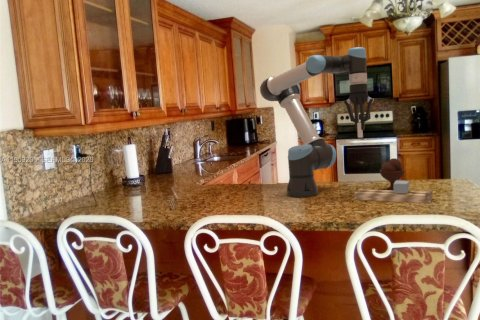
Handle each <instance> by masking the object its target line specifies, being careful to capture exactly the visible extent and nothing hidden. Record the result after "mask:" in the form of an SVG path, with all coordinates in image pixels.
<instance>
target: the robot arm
mask: <svg viewBox="0 0 480 320" xmlns="http://www.w3.org/2000/svg"><path fill="white" fill-rule="evenodd" d="M341 73H348V78H349V81H348V82H349V84H350V85H349V96H348V99H346V100H344V101H343V103H344V104H345V106H346V109H347V112H348V117H349V120H350V122H352V123H354V127H355V129H354V130H355V131H357V138H359V139H360V138H364V133H363V131H364V130H365V127H366V125H365V123H366V122H368V121H369V120H370V116H371V111H372V105H373V103H374V101H375V98H372V97H370V96H369V93H368V84H367V83H368V73H367V50H366V48H365V47H363V46H359V47H351V48H348V50H347V53H346V54H343V55H325V54H324V55H323V54H322V55H321V54H315V55H311V56H308V58H307V59H306V61H305V62H303V63H302V64H299V65H297V66H295V67H293V68H291V69H289V70H287V71H285V72H283V73H280V74H279V75H277V76H270V77H268V78H266V79H264V80H263V81H262V82H261V85H260V86H259V92H260V95H261V97H262V98H263V99H264V100H266V101H268V102H278V104H279V106H280V107H281V108H283V109H285V111H286V113H287V115H288V117H289V119H290V121H291V123H292V124H293V127H294V128H295V130H296V132H297V133H298V136H299V138H300V140H301V141H302V143H303V144H299V145H294V146H291V147H290V148H289V149H288V150H287V151H288V152H287V154H288V155H287V160H288V177H289V180H288V184H287V187H286V196H288V197H291V198H309V197H314V196H316V195H317V196H318V195H319V188H318V186H317V182H316V179H315V176H314V174H315V173H314V171H317V170H323V169H328V168H330V167H333V166H334V164H335V162H336V160H337V150H336V148H335V147H334V145H333V144H329V143H327V142H326V140H325V139H324V137H320V135H319V133H318V132H317V130H316V128H315V126H314V124H313V123H312V121H311V119H310V117H309V115H308V113H307V112H306V110H305V107H303V104H302V103H301V101H300V100H301V94H302V93H301V86H300V83H304V82H305V81H306V80H309V79H312V78H314V77H316V76H319V75H321V74H330V75H337V74H341ZM351 103H352V104H353V108H352V105H351ZM366 103H367V106H366V111H365V104H366ZM359 115H360V116H359Z"/></svg>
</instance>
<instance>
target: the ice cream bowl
mask: <svg viewBox="0 0 480 320" xmlns="http://www.w3.org/2000/svg"><path fill="white" fill-rule="evenodd" d="M381 165H382V166H381V169H379V174H380V176H381V177H382V178H383V179H384V180H386V181H388V182H389V184H390V186H388V187H387V188H386V189H385V190H391V191H394V187H393V184H394V183H395V182H396V181H400V179H402V178H403V176H404V174H405V172H406V170H405V169H403V166H402V162H401V161H400V159H398V158H391V159H389V160H388V161H386V162H384V163H383V164H381Z"/></svg>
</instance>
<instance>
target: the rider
mask: <svg viewBox="0 0 480 320" xmlns="http://www.w3.org/2000/svg"><path fill="white" fill-rule="evenodd" d="M393 187H394V193H403V194H407V193H408V191H410V181H409V180H397V181H395V183H394V184H393Z"/></svg>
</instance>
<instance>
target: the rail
mask: <svg viewBox="0 0 480 320" xmlns="http://www.w3.org/2000/svg"><path fill="white" fill-rule="evenodd" d="M433 194H434V193H433V189H427V190H426V191H421V190H420V191H415V190H409V191H408V193H407V194H403V193H394V191H391V190H386V189H385V190H384V189H383V190H382V189H361V188H360V189H358V190H357V191H355V192H354V200H359V201H376V202H377V201H378V202H400V203H401V202H402V203H416V204H417V203H418V204H419V203H422V204H431V203H432V201H433V199H434V198H433Z"/></svg>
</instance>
